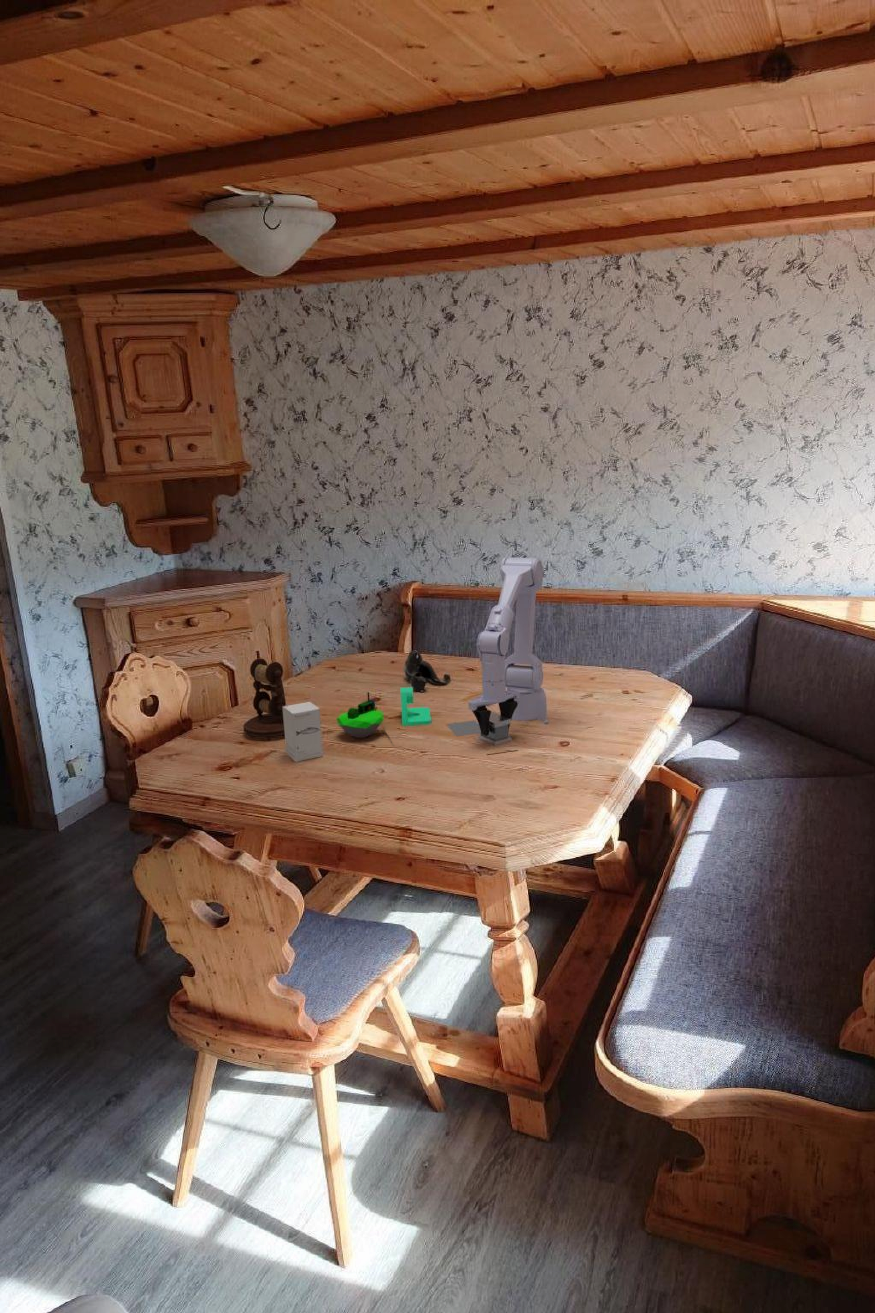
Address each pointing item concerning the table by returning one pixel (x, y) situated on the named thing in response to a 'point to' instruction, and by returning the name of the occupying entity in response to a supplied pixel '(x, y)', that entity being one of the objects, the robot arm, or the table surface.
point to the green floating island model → (361, 719)
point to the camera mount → (413, 710)
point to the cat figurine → (421, 672)
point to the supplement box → (302, 731)
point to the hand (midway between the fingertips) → (495, 731)
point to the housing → (497, 730)
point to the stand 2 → (489, 746)
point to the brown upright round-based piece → (267, 700)
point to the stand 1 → (464, 728)
